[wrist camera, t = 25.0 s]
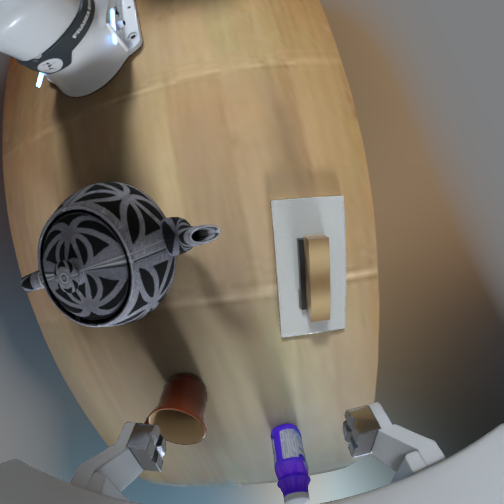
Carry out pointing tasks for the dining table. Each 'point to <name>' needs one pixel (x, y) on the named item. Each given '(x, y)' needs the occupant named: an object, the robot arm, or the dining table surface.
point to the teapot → (111, 254)
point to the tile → (286, 256)
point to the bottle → (290, 464)
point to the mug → (181, 410)
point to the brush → (314, 276)
